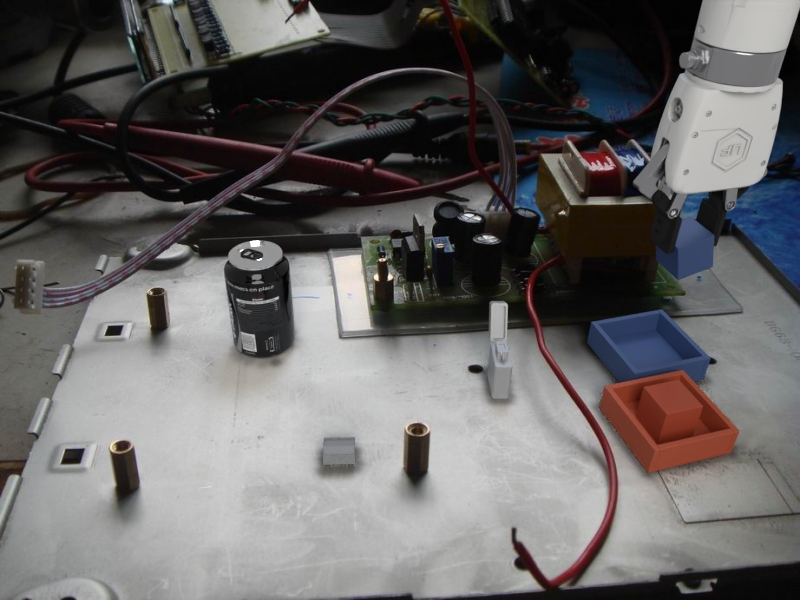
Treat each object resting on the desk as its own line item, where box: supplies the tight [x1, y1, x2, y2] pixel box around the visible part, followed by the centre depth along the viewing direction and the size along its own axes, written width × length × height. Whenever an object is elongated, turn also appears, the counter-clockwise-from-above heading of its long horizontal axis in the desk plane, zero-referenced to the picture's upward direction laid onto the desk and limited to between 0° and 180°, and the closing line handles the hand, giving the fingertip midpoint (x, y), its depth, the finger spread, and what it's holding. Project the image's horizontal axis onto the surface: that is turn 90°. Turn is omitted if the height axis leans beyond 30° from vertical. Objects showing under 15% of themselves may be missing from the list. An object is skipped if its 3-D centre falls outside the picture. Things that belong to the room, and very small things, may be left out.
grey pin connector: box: [322, 436, 357, 470], centre depth 70 cm, size 3×2×2 cm
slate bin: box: [586, 308, 711, 383], centre depth 83 cm, size 9×9×3 cm
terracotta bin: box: [598, 370, 740, 474], centre depth 74 cm, size 9×9×3 cm
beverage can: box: [223, 240, 296, 359], centre depth 81 cm, size 7×7×12 cm
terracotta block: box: [636, 380, 703, 444], centre depth 73 cm, size 4×4×4 cm
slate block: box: [655, 216, 715, 281], centre depth 76 cm, size 4×4×4 cm
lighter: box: [486, 300, 514, 400], centre depth 79 cm, size 7×2×8 cm, turn 2°
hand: (683, 241), depth 75 cm, fingers closed on slate block, 4 cm apart
